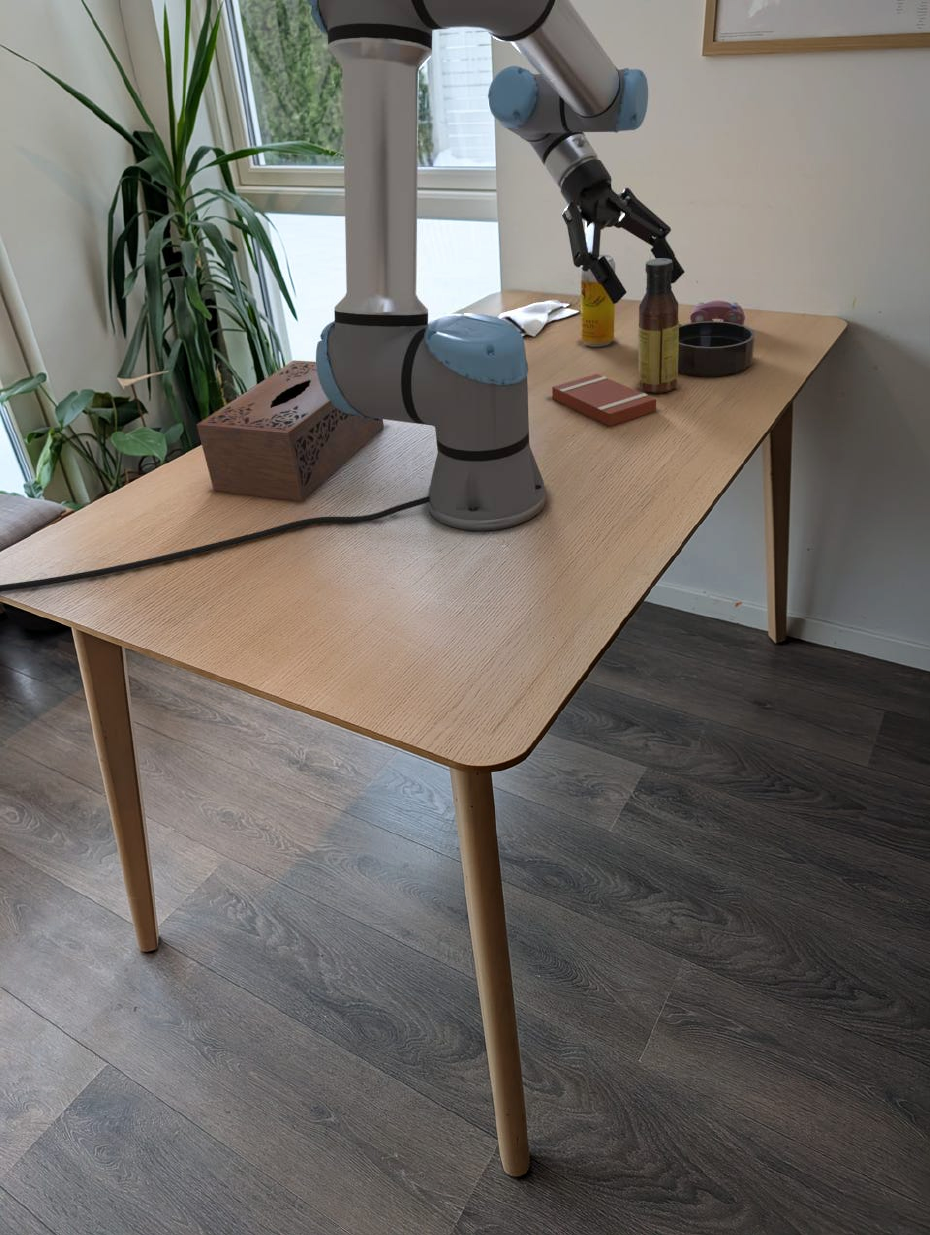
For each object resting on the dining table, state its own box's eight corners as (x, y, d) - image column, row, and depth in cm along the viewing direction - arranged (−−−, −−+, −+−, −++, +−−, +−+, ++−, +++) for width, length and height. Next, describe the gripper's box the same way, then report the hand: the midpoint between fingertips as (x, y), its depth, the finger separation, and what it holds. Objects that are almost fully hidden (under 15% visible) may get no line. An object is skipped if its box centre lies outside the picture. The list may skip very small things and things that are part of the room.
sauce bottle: (675, 380, 148) (682, 254, 136) (678, 394, 142) (687, 264, 131) (635, 381, 148) (639, 256, 137) (637, 395, 143) (641, 267, 132)
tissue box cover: (301, 501, 121) (287, 433, 116) (213, 490, 126) (196, 424, 121) (383, 427, 141) (375, 365, 135) (304, 420, 146) (293, 360, 140)
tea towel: (609, 426, 134) (609, 413, 133) (552, 398, 145) (551, 386, 144) (656, 411, 137) (656, 398, 136) (596, 385, 148) (596, 373, 147)
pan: (706, 384, 145) (708, 354, 142) (649, 362, 155) (650, 333, 153) (769, 363, 150) (773, 334, 148) (710, 344, 161) (712, 316, 158)
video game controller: (688, 339, 168) (688, 311, 162) (690, 322, 170) (691, 293, 164) (742, 340, 165) (745, 311, 159) (744, 322, 167) (747, 293, 161)
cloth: (537, 300, 192) (536, 289, 191) (591, 307, 185) (591, 296, 183) (462, 335, 176) (461, 323, 175) (518, 344, 169) (518, 332, 167)
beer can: (575, 341, 168) (574, 258, 159) (602, 335, 170) (603, 252, 161) (592, 349, 163) (592, 264, 155) (620, 343, 165) (622, 258, 156)
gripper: (532, 170, 130) (608, 291, 128) (645, 144, 142) (715, 255, 141) (509, 206, 136) (581, 322, 135) (619, 178, 149) (686, 284, 147)
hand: (650, 288), depth 138 cm, fingers open, 13 cm apart
